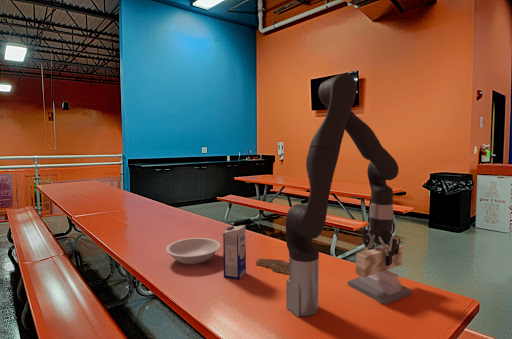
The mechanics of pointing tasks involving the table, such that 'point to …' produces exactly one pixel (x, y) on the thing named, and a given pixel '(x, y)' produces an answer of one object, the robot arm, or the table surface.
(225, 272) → the milk carton
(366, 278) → the ridge stand
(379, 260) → the ash bar
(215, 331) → the table surface
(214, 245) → the soup bowl
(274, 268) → the wooden fragment
